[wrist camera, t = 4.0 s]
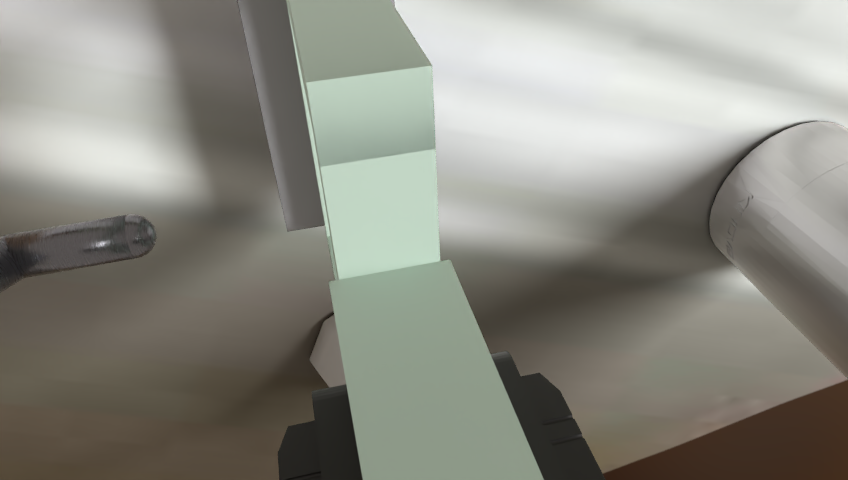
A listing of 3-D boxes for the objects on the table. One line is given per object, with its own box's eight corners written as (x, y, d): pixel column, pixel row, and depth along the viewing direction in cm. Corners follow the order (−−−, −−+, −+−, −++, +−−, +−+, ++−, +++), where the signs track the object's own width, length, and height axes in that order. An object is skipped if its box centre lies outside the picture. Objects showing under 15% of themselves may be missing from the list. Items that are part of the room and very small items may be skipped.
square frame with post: (382, -89, 21) (752, 288, 6) (406, 217, 28) (597, 736, 13) (223, -74, 20) (175, 405, 5) (290, 237, 27) (351, 812, 12)
